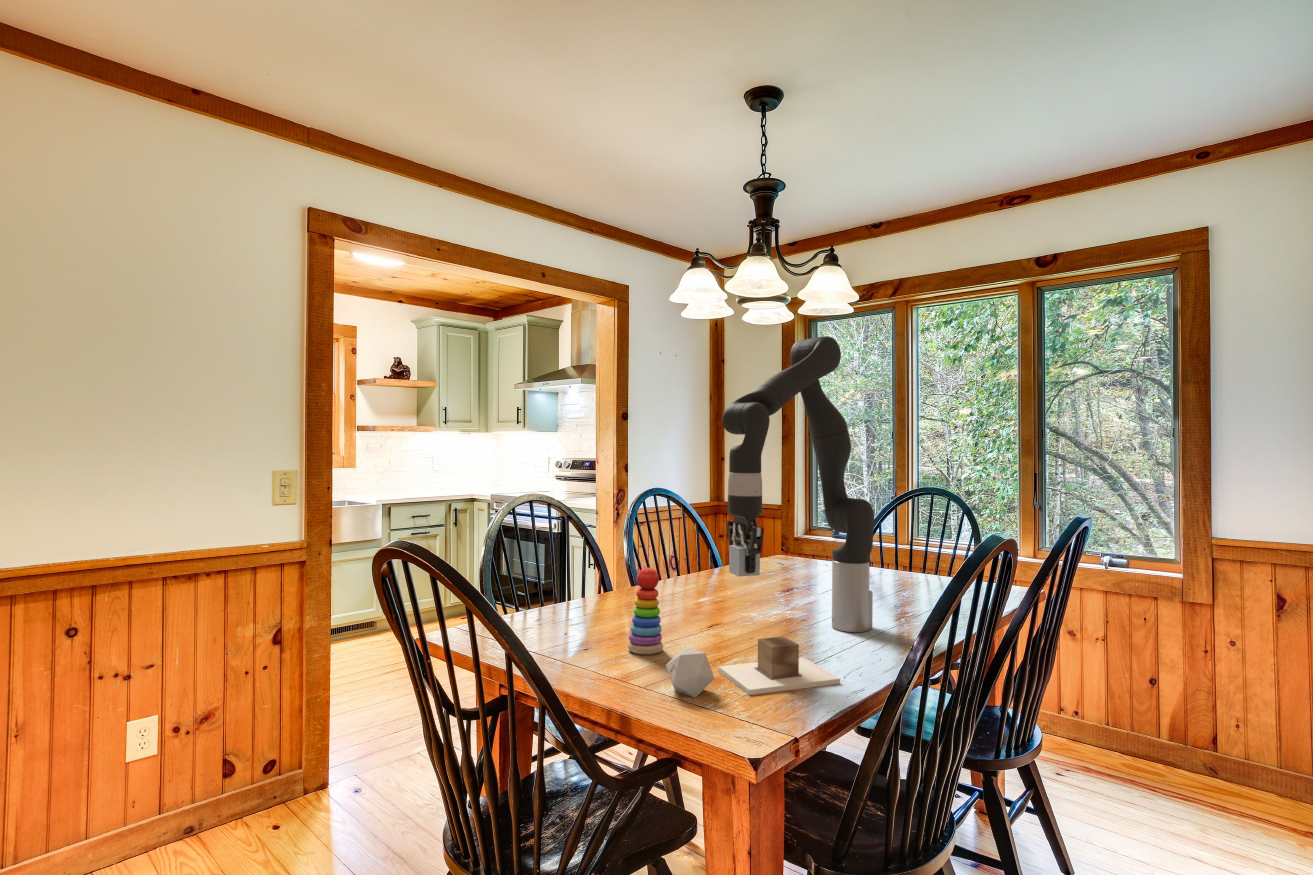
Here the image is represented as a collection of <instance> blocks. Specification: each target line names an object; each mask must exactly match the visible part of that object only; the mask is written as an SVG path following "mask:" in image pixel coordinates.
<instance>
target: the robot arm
mask: <svg viewBox="0 0 1313 875" xmlns="http://www.w3.org/2000/svg"><path fill="white" fill-rule="evenodd" d="M841 358H842V352H841V347H840V345H839V343H838V341H837V340H836V339H835V338H833V337H830V336H825V335H824V336H817V337H810V338H806V339H801V340H797V341H795V342H794V343H793V345H792V346H791V348H790V363H791V365H790V366H789V367H787V368H785V369H783V370H781V371H779V372H778V373H775V374H773V375H772V376H770V377H769V378H767V379H766V380H765V381H763V383H761V384H760V385H759V386H758V387H757V388H756V389H755V390H753V391H751V392H748V393H747V394H744V395H742V396H740V397H738V398H737V399H735V400H733V401H732V402H730V403H729V404H728V405H727V406H726V408H725V409H724V410H723V413H722V416H721V424H722V426H723V429H725V431H726V432H728V433H729V434H733V435H736V436H737V435H744V437H743V440H742V443H741V444H739V445H735V446H732V447H731V448H730V451H729V457H728V460H729V463H728V467H729V468H728V471H729V473H728V481H727V513H728V515H730V516H733V518H732V520H727V522H726V525H727V526H726V527H727V529H726V530H727V537H728V538H727V539H728V546H729V545H743V546H744V548H745V555H746V556H745V572H746V573H754V572H755V567H756V555H757V554H760V555H761V554H762V549H763V542H764V534H765V528H764V526H758V522H757V516H761V515H763V479H762V477H763V476H762V454H763V450H764V447H765V444H766V439H767V435H768V430H769V428H770V420H771V418H770V416H773V415H774V414H776V413H777V412H779V410H781V409H782V408H783V407H784V406H785V405H786V404H787V403H788V402H789V401H791V400H792V399H793V398H794V397H795V396H797V395H798V394H799V393H800V395H801V398H802V402H803V405H804V410H805V413H806V417H807V421H808V426H809V433H810V437H811V441H812V447H813V450H814V454H815V458H816V463H817V466H818V472H819V473H818V474H819V477H820V482H821V491H822V497H823V498H822V499H823V505H824V506H823V507H824V508H823V509H824V515H825V518H826V519H825V520H826V523H827V525H828V526H829V527H830V529H831V530H832V531H834V532H837V533H841V534H846V538H845V543H844V544H842V545H841V546H837V547H834V548H833V549H832V555H831V556H832V560H831V561H832V562H831V563H832V564H831V565H832V567H831V568H832V569H831V581H832V582H831V588H832V589H831V627H832V628H833V629H835V630H837V631H841V632H849V633H863V632H867V631H869V630H872V629H873V617H874V616H873V613H874V612H873V610H874V609H873V607H874V605H873V604H874V603H873V600H874V599H873V596H874V595H873V593H874V592H873V591H872V590H870V560H871V559H870V558H871V553H872V550H873V547H874V545H873V544H874V530H875V514H874V509H873V506H872V505H871V502H869V501H867V499H866V500H865V499H862V498H855V497H848V494H847V490H846V484H845V472H846V468H847V465H848V462H849V459H850V457H851V456H850V455H851V452H852V443H851V437H850V434H849V428H848V424H847V421H846V420H845V418H844V416H843V415H842V413H841V412H840V411H839V410H838V408H837V407H836V406H835V405H834V404H833V403H832V401H831V400H830V399H829V398H828V397H827V396H826V394H825V392H824V390H823V388H822V386H821V382H820V379H821V378H823V377H825V376H827V375H829V374H830V373H833V372H834V371H835V370H836V369H837V368H838V367H839V365H840V362H841V360H842V359H841ZM748 545H749V547H748Z"/></svg>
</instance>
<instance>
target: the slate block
mask: <svg viewBox="0 0 1313 875" xmlns="http://www.w3.org/2000/svg"><path fill="white" fill-rule="evenodd" d="M728 547H729V548H728V549H729V552H728V554H729V558H728V559H729V561H728V565H729V566H728V568H729V569H728V572H729V573H730V574H733V575H734V576H737V577H749V576H750V577H753V576H761V575H760V574H761V572H760V569H761V567H760V566H761V564H760V563H761V560H760V559H761V554H757V555H756V567H755V572H754V573H746V572H745V556H746V555H745V548H744V546H743V545H729V544H728ZM748 547H749V545H748Z"/></svg>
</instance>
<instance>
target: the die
mask: <svg viewBox="0 0 1313 875" xmlns="http://www.w3.org/2000/svg"><path fill="white" fill-rule="evenodd" d="M710 664H711V663H709V659H708V656H707V654H706V652H703V651H700V650H696V649H692V648H689V647H684V648H683V649H682V650H680V652H678V653H676V655H675V656H674V657H673V658H672V659H671V660H670V661H669V662H668V663H666V664H665V667H666V670H667V673H668V676H669V678H670V681H671V683H672V687H673V690H674V691H675V692H678V693H681V694H683V695H686V696H689V697H693V698H696V697H697V696H699V695H700V694H701V693H702V692H703V691H704V690H705V689H706V688H707V687H708V686H709V685H710V684H711V683H712V682H713V681H714V680H715V676H714V672H713V671H712V667H711V665H710Z"/></svg>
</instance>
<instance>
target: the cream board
mask: <svg viewBox="0 0 1313 875" xmlns="http://www.w3.org/2000/svg"><path fill="white" fill-rule="evenodd" d="M717 669H718V672H719V673H720V674H721V675H722V676H724V677H725V678H727V679H728V680H729V681H730V682H731V683H733V685H735V686H737V687H738V688H739V689H741V690H742V691H743V692H744V693H746V694H747V695H748V696H752V695H753V696H754V695H760V694H761V695H762V694H767V693H768V694H769V693H777V692H785V691H786V692H787V691H792V690H801V689H808V688H816V687H824V686H825V687H827V686H831V685H838V684H839V685H840V684H841V678H840V677H838V676H836V674H833V673H831V672H830V671H828V670H826V669H824V668H822V666H818V665H817V664H815V663H813V661H810V660H808V659H807V658H805V657H800V656H799V675H792V676H783V677H775V678H771V677H770V676H768V675H767V674H765V673H764V672H763V671H761V670H760V669H758V661H756V662H747V663H746V662H745V663H738V664H729V665H728V664H727V665H721V666H718V668H717Z"/></svg>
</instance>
